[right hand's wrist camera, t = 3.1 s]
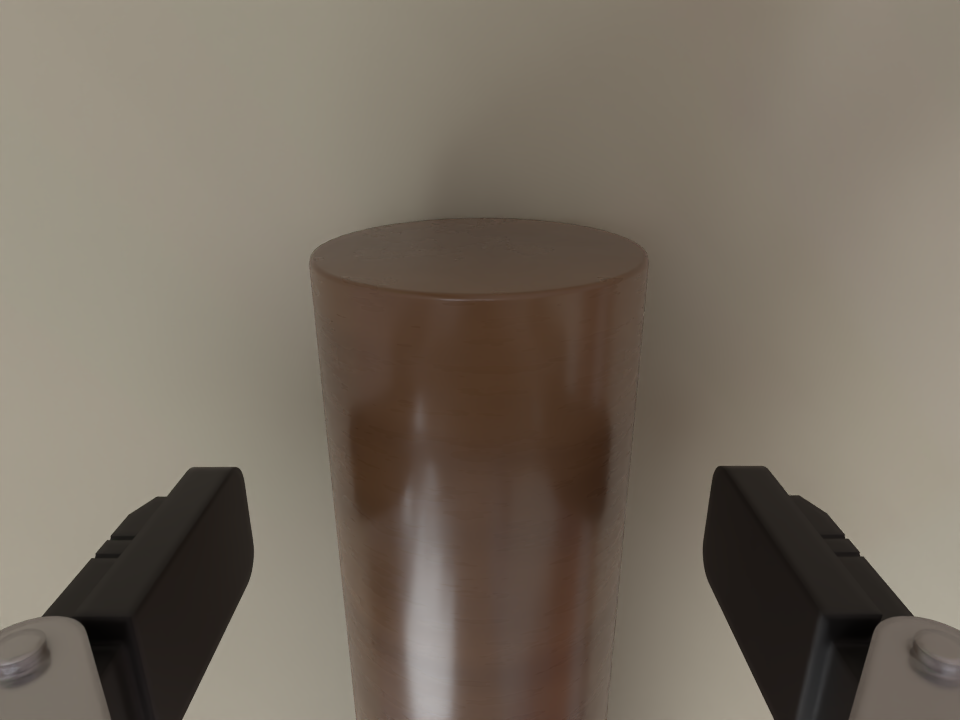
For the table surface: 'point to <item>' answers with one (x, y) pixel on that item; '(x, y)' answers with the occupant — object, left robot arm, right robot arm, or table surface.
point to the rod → (480, 460)
